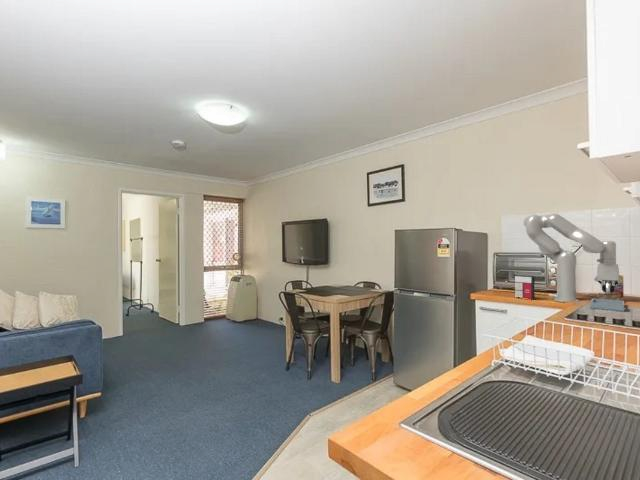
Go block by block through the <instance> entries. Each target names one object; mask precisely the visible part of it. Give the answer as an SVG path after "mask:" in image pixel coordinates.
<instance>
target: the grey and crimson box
mask: <svg viewBox="0 0 640 480" xmlns="http://www.w3.org/2000/svg"><path fill="white" fill-rule="evenodd" d="M513 277H514V298H515V297H521V298H528V299H534V300H535V282H536V280H535V279H536V277H535V276H534V275H522V274H521V275H519V274H518V275H514V276H513ZM528 299H527V300H528Z"/></svg>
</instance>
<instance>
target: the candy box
mask: <svg viewBox="0 0 640 480" xmlns="http://www.w3.org/2000/svg"><path fill="white" fill-rule="evenodd" d="M619 277H620V278H621V280H622V282H621V283H618V284H616V285H615V286H614V291H613V293H612V292H611V294H619V295H620V299H624V298H625V297H624V293H625V292H624V275H622V274H621V275H620V274H619ZM618 281H619V280H618ZM614 282H616V281H614ZM611 286H612V281H611Z"/></svg>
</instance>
